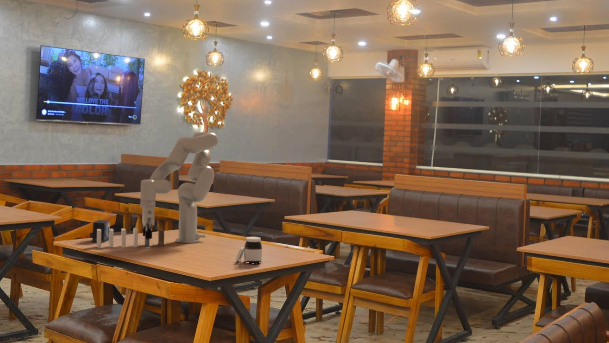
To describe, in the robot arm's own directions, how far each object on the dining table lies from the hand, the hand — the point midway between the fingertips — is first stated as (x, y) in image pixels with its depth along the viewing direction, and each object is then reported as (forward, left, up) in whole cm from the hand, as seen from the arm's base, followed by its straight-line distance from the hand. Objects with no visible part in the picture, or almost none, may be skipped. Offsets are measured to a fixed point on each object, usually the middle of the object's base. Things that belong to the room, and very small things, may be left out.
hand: (147, 237), depth 368 cm
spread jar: (-38, +54, -5) cm, 66 cm away
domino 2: (+18, 0, -4) cm, 19 cm away
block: (-7, 0, -4) cm, 8 cm away
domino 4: (+6, 0, -4) cm, 7 cm away
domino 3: (+12, 0, -4) cm, 13 cm away
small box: (+21, -20, -5) cm, 29 cm away
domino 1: (+24, 0, -4) cm, 24 cm away
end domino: (0, 0, -4) cm, 4 cm away
